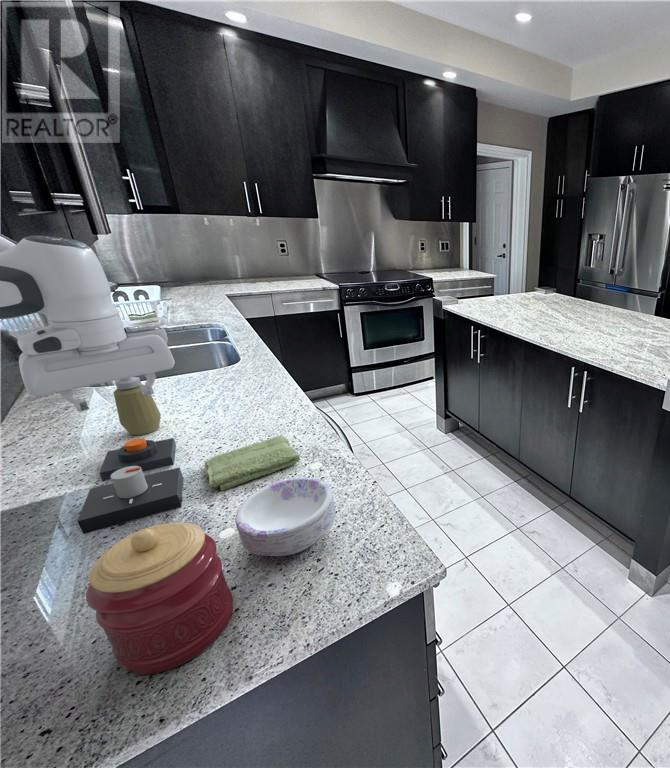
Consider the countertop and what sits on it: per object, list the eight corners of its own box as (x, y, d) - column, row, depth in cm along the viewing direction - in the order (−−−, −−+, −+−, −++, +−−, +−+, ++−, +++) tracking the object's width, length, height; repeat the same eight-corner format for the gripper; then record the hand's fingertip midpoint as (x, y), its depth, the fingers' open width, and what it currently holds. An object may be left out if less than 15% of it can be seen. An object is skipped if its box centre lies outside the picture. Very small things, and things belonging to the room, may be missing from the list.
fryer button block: (102, 481, 86) (96, 465, 85) (110, 459, 94) (104, 444, 92) (173, 464, 93) (168, 449, 91) (176, 445, 100) (171, 431, 99)
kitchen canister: (235, 644, 55) (203, 546, 49) (108, 699, 49) (49, 593, 42) (234, 577, 65) (207, 487, 59) (128, 615, 59) (84, 518, 52)
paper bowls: (231, 578, 65) (219, 540, 62) (259, 515, 79) (250, 481, 76) (332, 561, 69) (326, 524, 66) (342, 504, 83) (337, 471, 80)
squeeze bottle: (163, 433, 105) (141, 368, 98) (121, 441, 101) (96, 374, 94) (166, 420, 111) (146, 359, 105) (127, 427, 107) (103, 364, 100)
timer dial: (116, 501, 76) (107, 480, 75) (120, 489, 80) (111, 468, 78) (146, 493, 79) (139, 473, 77) (149, 481, 82) (141, 462, 80)
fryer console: (83, 534, 72) (76, 520, 71) (95, 500, 81) (89, 487, 79) (181, 506, 80) (176, 493, 79) (183, 478, 88) (179, 466, 87)
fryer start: (125, 454, 90) (122, 447, 89) (127, 447, 92) (125, 440, 92) (146, 450, 92) (144, 443, 91) (148, 443, 94) (146, 436, 94)
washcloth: (202, 467, 92) (199, 455, 91) (286, 442, 103) (284, 431, 102) (212, 495, 83) (208, 483, 82) (303, 465, 95) (301, 453, 93)
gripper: (158, 319, 82) (177, 382, 87) (3, 340, 67) (37, 414, 72) (168, 325, 79) (187, 390, 84) (7, 348, 63) (43, 425, 69)
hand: (117, 401), depth 78 cm, fingers open, 8 cm apart
